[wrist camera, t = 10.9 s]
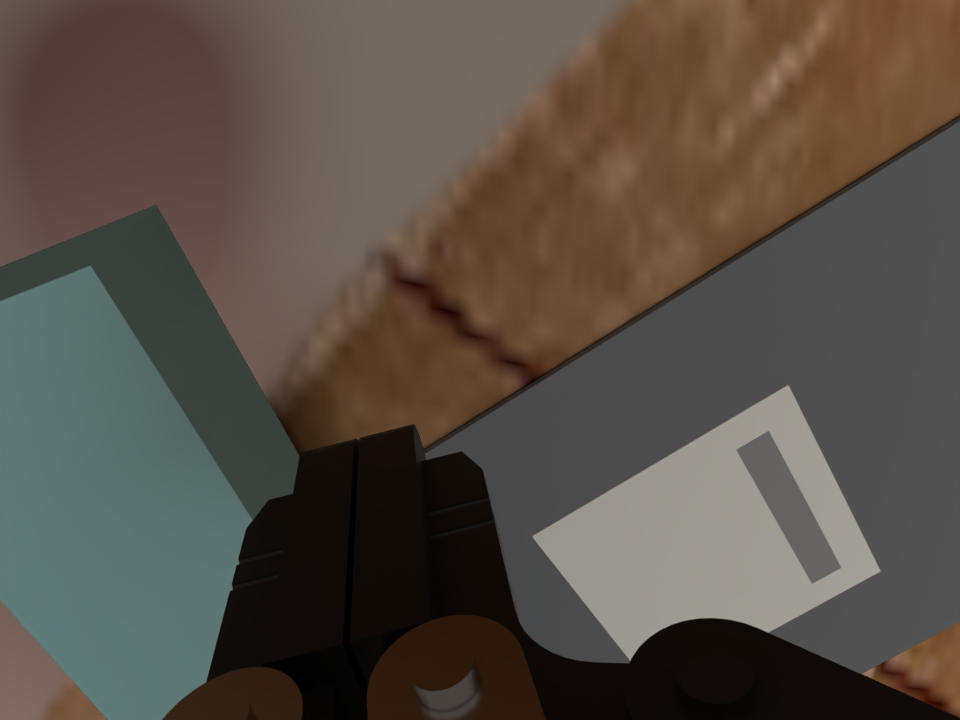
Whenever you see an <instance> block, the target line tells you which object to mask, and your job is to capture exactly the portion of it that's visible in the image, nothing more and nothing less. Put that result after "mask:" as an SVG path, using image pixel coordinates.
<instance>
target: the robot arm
mask: <svg viewBox="0 0 960 720" xmlns="http://www.w3.org/2000/svg"><path fill="white" fill-rule="evenodd" d="M238 560H239V565H236V569H235V573H234V577H233V581H232V588H233V590H232V591H230V592H229V596H228V600H227V604H226V608H225V612H224V615H223V619H222V623H221V627H220V631H219V635H218V638H217V642H216V646H215V650H214V654H213V658H212V662H211V665H210V669H209V673H208V677H207V681H206V683H204V684H202V685H201V686H199V687H198V688H196V689H195V690H193V691H192V692H190V693H189V694H188V695H187V696H185V697H184V698H183V699H182V700H180V701H179V702H178V703H177V704H176V705H175V706H174V707H173V708H172V709H171V710H170V711H169V712H168V713H167V714H166V716H165V717H164V718H163V719H162V720H960V718H958V717H956V716H954V715H952V714H950V713H947V712H945V711H943V710H941V709H938V708H936V707H934V706H932V705H929V704H927V703H925V702H923V701H920V700H918V699H916V698H914V697H911V696H909V695H907V694H905V693H902V692H900V691H898V690H896V689H893V688H891V687H889V686H887V685H884V684H882V683H880V682H878V681H875V680H873V679H871V678H869V677H867V676H864V675H862V674H860V673H858V672H855V671H853V670H851V669H849V668H846V667H844V666H842V665H840V664H837V663H835V662H833V661H831V660H828V659H826V658H824V657H822V656H819V655H817V654H815V653H813V652H810V651H808V650H806V649H804V648H801V647H799V646H797V645H795V644H792V643H790V642H788V641H786V640H784V639H781V638H779V637H777V636H775V635H772V634H770V633H768V632H766V631H763V630H761V629H759V628H756V627H754V626H751V625H748V624H745V623H742V622H738V621H733V620H729V619H719V618H699V619H692V620H686V621H682V622H679V623H676V624H672V625H670V626H668V627H666V628H664V629H662V630H659V631H658V632H656V633H655V634H654V635H652V636H651V637H649V638H648V639H647V640H646V641H645V642H644V643H643V644H642V645H641V646H640V647H639V648H638V649H637V651H636V652H635V654H634V655H633V657H632V659H631V661H630V663H602V662H587V661H578V660H574V659H570V658H565V657H563V656H560V655H557V654H555V653H552V652H551V651H549V650H547V649H545V648H543V647H542V646H540V645H539V644H538V643H536V642H535V641H534V640H533V639H532V638H531V637H530V636H529V635H528V634H527V633H526V632H525V631H524V629H523V627H522V626H521V623H520V619H519V614H518V610H517V606H516V602H515V597H514V593H513V589H512V585H511V580H510V576H509V572H508V568H507V563H506V559H505V555H504V551H503V547H502V543H501V540H500V536H499V532H498V528H497V524H496V520H495V516H494V512H493V508H492V504H491V500H490V496H489V492H488V488H487V484H486V480H485V476H484V473H483V469H482V468H481V467H479V466H478V465H477V464H476V463H475V462H474V461H473V460H471V459H470V458H469V457H468V456H467V455H466V454H464V453H463V452H462V451H460V452H456V453H452V454H448V455H444V456H440V457H436V458H432V459H428V460H426V457H425V453H424V450H423V446H422V443H421V440H420V436H419V433H418V431H417V428H416V426H415V424H413V425H409V426H405V427H401V428H397V429H393V430H389V431H385V432H381V433H377V434H373V435H369V436H365V437H361V438H360V440H359V441H358V439H354V440H350V441H346V442H342V443H338V444H334V445H330V446H326V447H322V448H318V449H314V450H310V451H306V452H302V453H301V454H300V457H299V462H298V468H297V473H296V479H295V484H294V490H293V494H290V495H286V496H282V497H278V498H274V499H270V500H268V501H267V502H266V504H265V505H264V506H263V508H262V509H261V510H260V512H259V513H258V514H257V515H256V517H255V518H254V519H253V521H252V522H251V523H250V524H249V526H248V527H247V528H246V531H245V535H244V539H243V542H242V546H241V550H240V554H239V558H238Z"/></svg>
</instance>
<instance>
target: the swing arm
mask: <svg viewBox="0 0 960 720" xmlns="http://www.w3.org/2000/svg"><path fill="white" fill-rule="evenodd" d="M299 457H300V456H299V454H298V453H297V451H296V449H295V447H294V446H293V444H292V442H291V440H290V439H289V437H288V435H287V433H286V432H285V430H284V428H283V426H282V425H281V423H280V421H279V419H278V418H277V416H276V414H275V412H274V410H273V409H272V407H271V405H270V403H269V402H268V400H267V398H266V396H265V395H264V393H263V391H262V389H261V388H260V386H259V384H258V382H257V381H256V379H255V377H254V376H253V374H252V372H251V370H250V368H249V367H248V365H247V363H246V361H245V360H244V358H243V356H242V354H241V353H240V351H239V349H238V347H237V346H236V344H235V342H234V340H233V339H232V337H231V335H230V333H229V332H228V330H227V328H226V326H225V325H224V323H223V321H222V319H221V318H220V316H219V314H218V313H217V311H216V309H215V307H214V305H213V304H212V302H211V300H210V298H209V297H208V295H207V293H206V291H205V290H204V288H203V286H202V284H201V283H200V281H199V279H198V277H197V276H196V274H195V272H194V270H193V268H192V267H191V265H190V264H189V261H188V260H187V258H186V256H185V254H184V253H183V251H182V249H181V248H180V246H179V244H178V242H177V241H176V239H175V237H174V235H173V234H172V232H171V230H170V228H169V226H168V225H167V223H166V221H165V219H164V218H163V216H162V214H161V212H160V211H159V209H158V207H157V205H155V206H153V207H150V208H147V209H145V210H142V211H140V212H137V213H135V214H132V215H130V216H127V217H125V218H122V219H120V220H117V221H115V222H112V223H110V224H107V225H104V226H102V227H100V228H97V229H94V230H92V231H89V232H87V233H84V234H82V235H79V236H77V237H75V238H72V239H70V240H67V241H64V242H62V243H59V244H57V245H54V246H52V247H49V248H47V249H44V250H42V251H39V252H37V253H34V254H32V255H29V256H27V257H24V258H22V259H19V260H17V261H14V262H12V263H9V264H7V265H4V266H2V267H0V600H1V601H2V602H3V604H4V605H5V606H6V607H7V608H8V609H9V610H10V611H11V613H12V614H13V615H14V616H15V617H16V618H17V619H18V620H19V621H20V623H21V624H22V625H23V626H24V627H25V628H26V629H27V630H28V632H29V633H30V634H31V635H32V636H33V637H34V638H35V639H36V640H37V641H38V643H39V644H40V645H41V646H42V647H43V648H44V649H45V651H46V652H47V653H48V654H49V655H50V656H51V657H52V658H53V659H54V661H55V662H56V663H57V664H58V665H59V666H60V667H61V668H62V670H63V671H64V672H65V673H66V674H67V675H68V676H69V677H70V678H71V680H72V681H73V682H74V683H75V684H76V685H77V686H78V687H79V689H80V690H81V691H82V692H83V693H84V694H85V695H86V696H87V697H88V699H89V700H90V701H91V702H92V703H93V704H94V705H95V706H96V708H97V709H98V710H99V711H100V712H101V713H102V714H103V715H104V716H105V718H106V719H107V720H162V719H163V718H164V717H165V716H166V714H167V713H168V712H169V711H170V710H171V709H172V708H173V707H174V706H175V705H176V704H177V703H178V702H179V701H180V700H182V699H183V698H184V697H185V696H187V695H188V694H189V693H190V692H192V691H193V690H195V689H196V688H198V687H199V686H201V685H202V684H204V683H206V681H207V677H208V673H209V669H210V665H211V662H212V658H213V654H214V650H215V646H216V642H217V638H218V635H219V631H220V627H221V623H222V619H223V615H224V612H225V608H226V604H227V600H228V596H229V592H230V591H232V590H233V588H232V581H233V577H234V573H235V569H236V565H239V560H238V558H239V554H240V550H241V546H242V542H243V539H244V535H245V531H246V528H247V527H248V526H249V524H250V523H251V522H252V521H253V519H254V518H255V517H256V515H257V514H258V513H259V512H260V510H261V509H262V508H263V506H264V505H265V504H266V502H267V501H268V500H270V499H274V498H278V497H282V496H286V495H290V494H293V490H294V484H295V479H296V473H297V468H298V462H299Z"/></svg>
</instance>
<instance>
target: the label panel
mask: <svg viewBox="0 0 960 720" xmlns="http://www.w3.org/2000/svg"><path fill="white" fill-rule="evenodd" d="M460 451H462V452H463V453H464V454H466V455H467V456H468V457H469V458H470V459H471V460H473V461H474V462H475V463H476V464H477V465H478V466H479V467H481V468H482V469H483V473H484V476H485V480H486V484H487V488H488V492H489V496H490V500H491V504H492V508H493V512H494V516H495V520H496V524H497V528H498V532H499V536H500V540H501V543H502V547H503V551H504V555H505V559H506V563H507V568H508V572H509V576H510V580H511V585H512V589H513V593H514V597H515V602H516V606H517V610H518V614H519V619H520V623H521V626H522V627H523V629H524V631H525V632H526V633H527V634H528V635H529V636H530V637H531V638H532V639H533V640H534V641H535V642H536V643H538V644H539V645H540V646H542V647H543V648H545V649H547V650H549V651H551V652H552V653H555V654H557V655H560V656H563V657H565V658H570V659H574V660H578V661H587V662H602V663H630V661H631V659H632V657H633V655H634V654H635V652H636V651H637V649H638V648H639V647H640V646H641V645H642V644H643V643H644V642H645V641H646V640H647V639H648V638H649V637H651V636H652V635H654V634H655V633H656V632H658V631H659V630H662V629H664V628H666V627H668V626H670V625H672V624H676V623H679V622H682V621H686V620H692V619H699V618H719V619H729V620H733V621H738V622H742V623H745V624H748V625H751V626H754V627H756V628H759V629H761V630H763V631H766V632H768V633H770V634H772V635H775V636H777V637H779V638H781V639H784V640H786V641H788V642H790V643H792V644H795V645H797V646H799V647H801V648H804V649H806V650H808V651H810V652H813V653H815V654H817V655H819V656H822V657H824V658H826V659H828V660H831V661H833V662H835V663H837V664H840V665H842V666H844V667H846V668H849V669H851V670H853V671H855V672H858V673H860V674H862V673H864V672H866V671H868V670H870V669H871V668H873V667H875V666H877V665H879V664H881V663H883V662H885V661H887V660H888V659H890V658H892V657H894V656H896V655H898V654H900V653H902V652H904V651H906V650H907V649H909V648H911V647H913V646H915V645H917V644H919V643H921V642H923V641H924V640H926V639H928V638H930V637H932V636H934V635H936V634H938V633H940V632H942V631H943V630H945V629H947V628H949V627H951V626H953V625H955V624H957V623H959V622H960V117H958V118H956V119H955V120H953V121H952V122H950V123H948V124H947V125H945V126H944V127H942V128H940V129H939V130H937V131H936V132H934V133H932V134H931V135H929V136H928V137H926V138H924V139H923V140H921V141H920V142H918V143H916V144H915V145H913V146H911V147H910V148H908V149H907V150H905V151H903V152H902V153H900V154H899V155H897V156H895V157H894V158H892V159H891V160H889V161H887V162H886V163H884V164H883V165H881V166H879V167H878V168H876V169H875V170H873V171H871V172H870V173H868V174H867V175H865V176H863V177H862V178H860V179H858V180H857V181H855V182H854V183H852V184H850V185H849V186H847V187H846V188H844V189H842V190H841V191H839V192H838V193H836V194H834V195H833V196H831V197H830V198H828V199H826V200H825V201H823V202H822V203H820V204H818V205H817V206H815V207H814V208H812V209H810V210H809V211H807V212H805V213H804V214H802V215H801V216H799V217H797V218H796V219H794V220H793V221H791V222H789V223H788V224H786V225H785V226H783V227H781V228H780V229H778V230H777V231H775V232H773V233H772V234H770V235H769V236H767V237H765V238H764V239H762V240H760V241H759V242H757V243H756V244H754V245H752V246H751V247H749V248H748V249H746V250H744V251H743V252H741V253H740V254H738V255H736V256H735V257H733V258H732V259H730V260H728V261H727V262H725V263H724V264H722V265H720V266H719V267H717V268H716V269H714V270H712V271H711V272H709V273H707V274H706V275H704V276H703V277H701V278H699V279H698V280H696V281H695V282H693V283H691V284H690V285H688V286H687V287H685V288H683V289H682V290H680V291H679V292H677V293H675V294H674V295H672V296H671V297H669V298H667V299H666V300H664V301H663V302H661V303H659V304H658V305H656V306H654V307H653V308H651V309H650V310H648V311H646V312H645V313H643V314H642V315H640V316H638V317H637V318H635V319H634V320H632V321H630V322H629V323H627V324H626V325H624V326H622V327H621V328H619V329H618V330H616V331H614V332H613V333H611V334H609V335H608V336H606V337H605V338H603V339H601V340H600V341H598V342H597V343H595V344H593V345H592V346H590V347H589V348H587V349H585V350H584V351H582V352H581V353H579V354H577V355H576V356H574V357H573V358H571V359H569V360H568V361H566V362H565V363H563V364H561V365H560V366H558V367H556V368H555V369H553V370H552V371H550V372H548V373H547V374H545V375H544V376H542V377H540V378H539V379H537V380H536V381H534V382H532V383H531V384H529V385H528V386H526V387H524V388H523V389H521V390H520V391H518V392H516V393H515V394H513V395H512V396H510V397H508V398H507V399H505V400H503V401H502V402H500V403H499V404H497V405H495V406H494V407H492V408H491V409H489V410H487V411H486V412H484V413H483V414H481V415H479V416H478V417H476V418H475V419H473V420H471V421H470V422H468V423H467V424H465V425H463V426H462V427H460V428H458V429H457V430H455V431H454V432H452V433H450V434H449V435H447V436H446V437H444V438H442V439H441V440H439V441H438V442H436V443H434V444H433V445H431V446H430V447H428V448H426V449H425V450H424V453H425V457H426V460H428V459H432V458H436V457H440V456H444V455H448V454H452V453H456V452H460Z"/></svg>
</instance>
